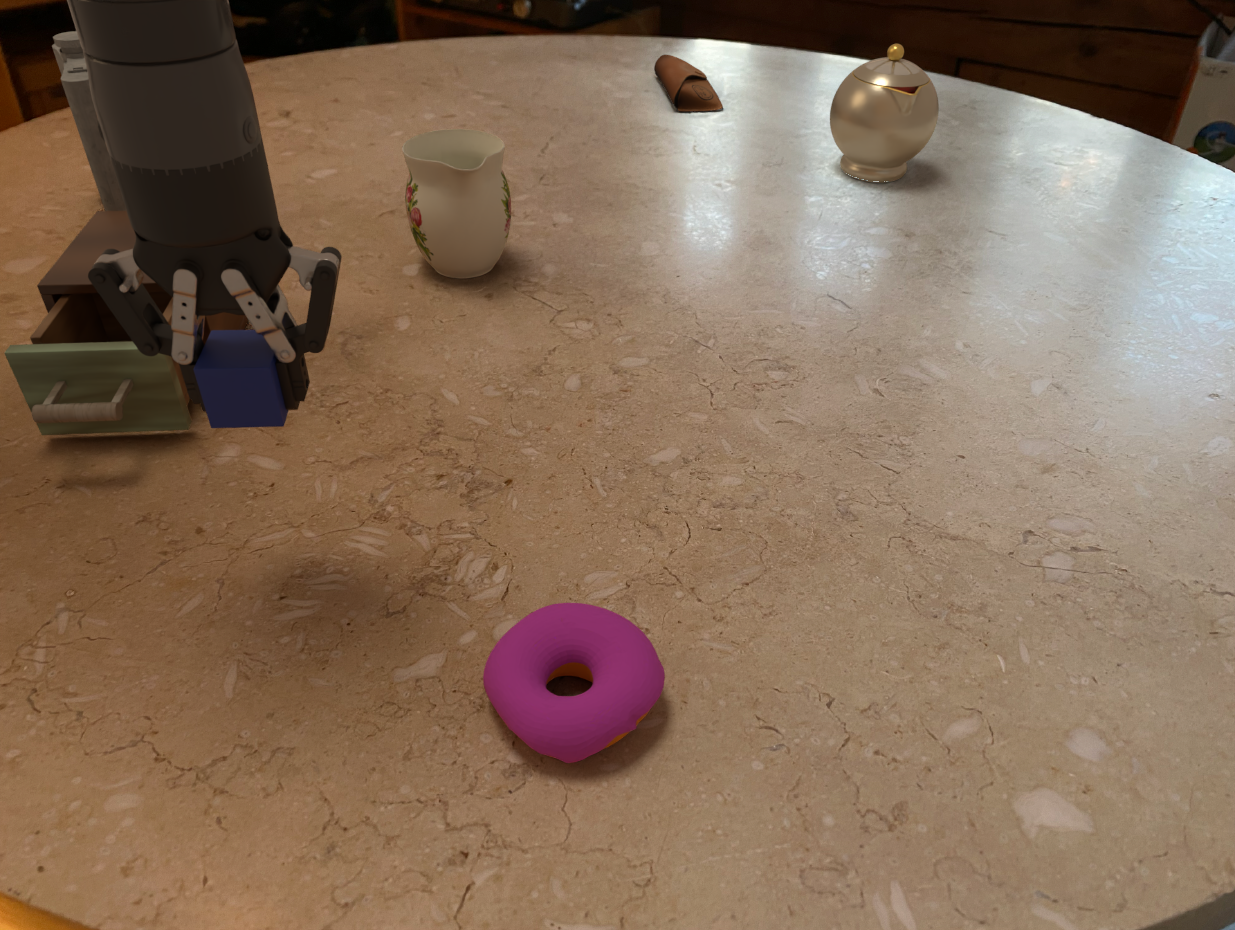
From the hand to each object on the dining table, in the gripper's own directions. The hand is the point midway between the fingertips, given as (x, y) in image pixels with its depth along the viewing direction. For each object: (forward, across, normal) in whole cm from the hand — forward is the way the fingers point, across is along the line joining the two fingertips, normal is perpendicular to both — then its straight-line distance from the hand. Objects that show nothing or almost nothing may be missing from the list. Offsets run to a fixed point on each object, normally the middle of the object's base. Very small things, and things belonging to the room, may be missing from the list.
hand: (253, 402), depth 60 cm
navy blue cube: (0, 0, 0) cm, 0 cm away
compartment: (+13, +16, -19) cm, 28 cm away
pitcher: (+14, -10, -46) cm, 49 cm away
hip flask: (+14, +30, -59) cm, 68 cm away
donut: (+13, -20, +14) cm, 28 cm away
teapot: (+13, -64, -71) cm, 97 cm away
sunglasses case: (+14, -44, -103) cm, 113 cm away
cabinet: (+14, +16, -30) cm, 37 cm away
